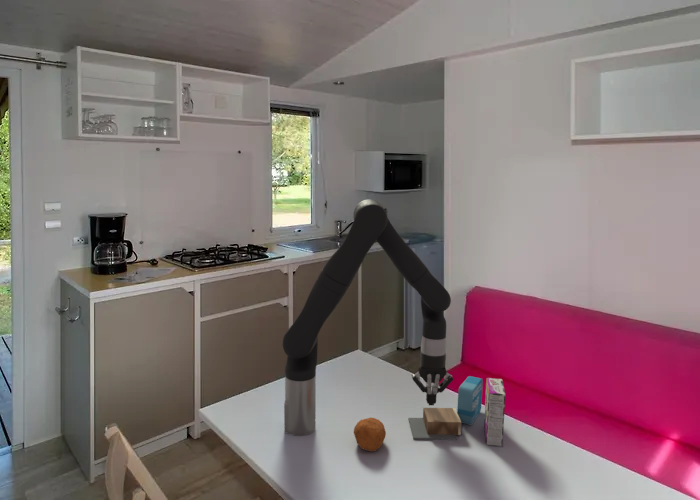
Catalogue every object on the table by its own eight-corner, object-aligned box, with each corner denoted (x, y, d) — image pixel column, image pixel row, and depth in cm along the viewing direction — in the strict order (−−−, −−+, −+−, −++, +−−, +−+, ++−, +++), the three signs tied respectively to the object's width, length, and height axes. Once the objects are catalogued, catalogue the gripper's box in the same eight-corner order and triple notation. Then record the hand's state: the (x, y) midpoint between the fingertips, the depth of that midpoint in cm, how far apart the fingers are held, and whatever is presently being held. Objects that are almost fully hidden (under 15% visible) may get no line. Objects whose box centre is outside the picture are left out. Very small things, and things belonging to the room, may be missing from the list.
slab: (428, 421, 152) (461, 422, 152) (423, 407, 161) (454, 407, 161) (427, 434, 152) (460, 434, 153) (422, 419, 161) (454, 419, 162)
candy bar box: (482, 426, 159) (486, 377, 156) (499, 428, 158) (502, 378, 155) (485, 445, 148) (488, 392, 145) (502, 447, 147) (506, 394, 144)
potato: (347, 450, 144) (347, 426, 143) (361, 431, 155) (361, 408, 153) (378, 457, 141) (379, 432, 140) (390, 438, 151) (391, 414, 150)
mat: (413, 439, 151) (413, 437, 151) (408, 419, 162) (408, 417, 162) (457, 439, 151) (457, 437, 151) (448, 419, 163) (448, 418, 163)
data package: (470, 427, 159) (472, 390, 157) (456, 423, 161) (458, 387, 159) (481, 411, 169) (483, 377, 167) (467, 407, 171) (469, 374, 169)
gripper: (413, 354, 149) (411, 409, 152) (458, 355, 149) (455, 410, 152) (409, 345, 157) (408, 398, 159) (452, 346, 157) (449, 398, 160)
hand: (431, 404), depth 156 cm, fingers closed
